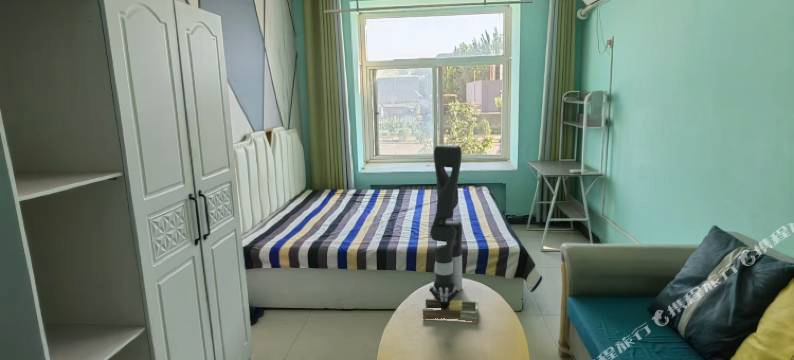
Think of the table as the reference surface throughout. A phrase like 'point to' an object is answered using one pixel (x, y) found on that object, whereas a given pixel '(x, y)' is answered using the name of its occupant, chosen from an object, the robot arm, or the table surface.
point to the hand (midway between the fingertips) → (444, 308)
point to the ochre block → (455, 305)
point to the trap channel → (466, 314)
